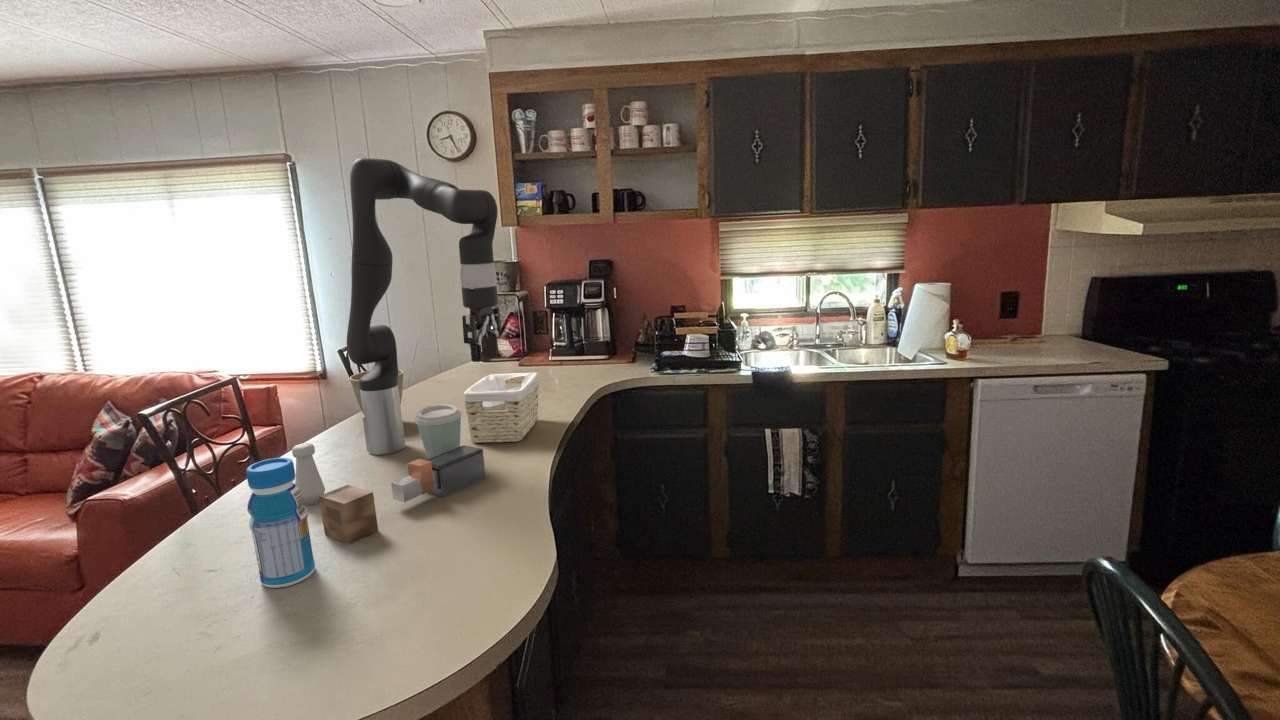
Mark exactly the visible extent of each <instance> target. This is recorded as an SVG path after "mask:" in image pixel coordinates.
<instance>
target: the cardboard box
mask: <svg viewBox="0 0 1280 720" xmlns="http://www.w3.org/2000/svg"><path fill="white" fill-rule="evenodd" d="M319 500H320V502H319V503H320V504H319V506H320V512H321V518H322V524H323V530H324V535H325V536H327V537H330V538H332V539H335V540H336V541H337V540H338V541H341V542H343V543H346V544H348V545H352V544H353V543H356V542H358V541H360V540H362V539H364V538H367V537H368V536H371V535H373V534H375V533H377V532H378V531H379V525H378V518H377V512H376V511H377V510H376V503H375V498H374V492H373V491H370V490H368V489H363V488H360V487H356V486H353V485H350V484H347V485H344V486H341V487H338V488H336V489H333V490H331V491H329V492H326V493H325V492H324V494H323V495H320V496H319Z"/></svg>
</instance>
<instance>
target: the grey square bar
mask: <svg viewBox="0 0 1280 720" xmlns="http://www.w3.org/2000/svg"><path fill="white" fill-rule="evenodd" d="M427 460H428V459H422V458H417V459H415V460H414V459H413V460H412V461H410V462H407V463H406V464H407V465H406V466H407V471H408V475H407V476H405V477H402V478H400V479H397V480H395V481H393V482H391V483H390V485H391V493H392V499H393V500H395V501H398V502H402V503H406V502H409V501H411V500H413V499H416V498H417V497H419V496H422V495H425V494H429V493H428V492H430V491H432V490H434V489H436V488H438V487H440V486H441V482H440V473H439V469H436V468H432V463H431V461H427Z"/></svg>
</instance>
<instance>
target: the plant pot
mask: <svg viewBox="0 0 1280 720" xmlns="http://www.w3.org/2000/svg"><path fill="white" fill-rule="evenodd" d="M370 371H371V370H367V371H363V372H362V371H361V372H358V373H356V374H353V375H351V376H350V377H349V380H350V385H351V388H352V390H353V393H354V396H355V399H356V402H357V404H358V407H359V408H360V411H361V413H362V414H363V415H362V416H364V413H363V406H362V399H361V392H360V385H359V380H360V378H361V377H363V376H364V375H365V374H367V373H368V372H370ZM397 383H398V384H397V385H398V391H399V399H400V406H401V404H402V399H403V388H404V371H403V370H402V369H399V368H398V377H397Z"/></svg>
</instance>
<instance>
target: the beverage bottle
mask: <svg viewBox="0 0 1280 720" xmlns="http://www.w3.org/2000/svg"><path fill="white" fill-rule="evenodd" d="M245 470H246V474H245V475H246V479H247V484H248V487H249V489H250V491H251V490H252V492H251V495H250V497H249V500H248V503H247V510H246V511H247V513H248V514H249V515H250V519H249V522H248V524H249V525H248V526H249V530H250V531H251V534H252V540H253V547H254V550H255V556H256V562H257V566H258V572H259V573H258V574H259V579H260V583H261V584H262V585H263V586H265V587H266V588H271V589H272V588H273V589H277V588H285V587H290V586H293V585H296V584H299V583H300V582H302V581H303V582H304V581H305V580H306V579H307V578H309V577H310V576H312V574H313V573H314V571H315V569H316V562H315V559H314V554H313V553H314V552H313V549H312V540H311V536H310V528H309V522H308V516H309V515H308V514H309V513H308V508H307V507H306V506H304V505H303V501H304V495H303V493H302V492H301V490H300V489H299V488H298V487H297V486H296V485H295V483H294V481H295V477H296V469H295V464H294V462H293V459H291V458H288V457H274V458H268V459H264V460H260V461H257V462H254V463H253V464H250V465H249V466H247V468H246V469H245Z"/></svg>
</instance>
